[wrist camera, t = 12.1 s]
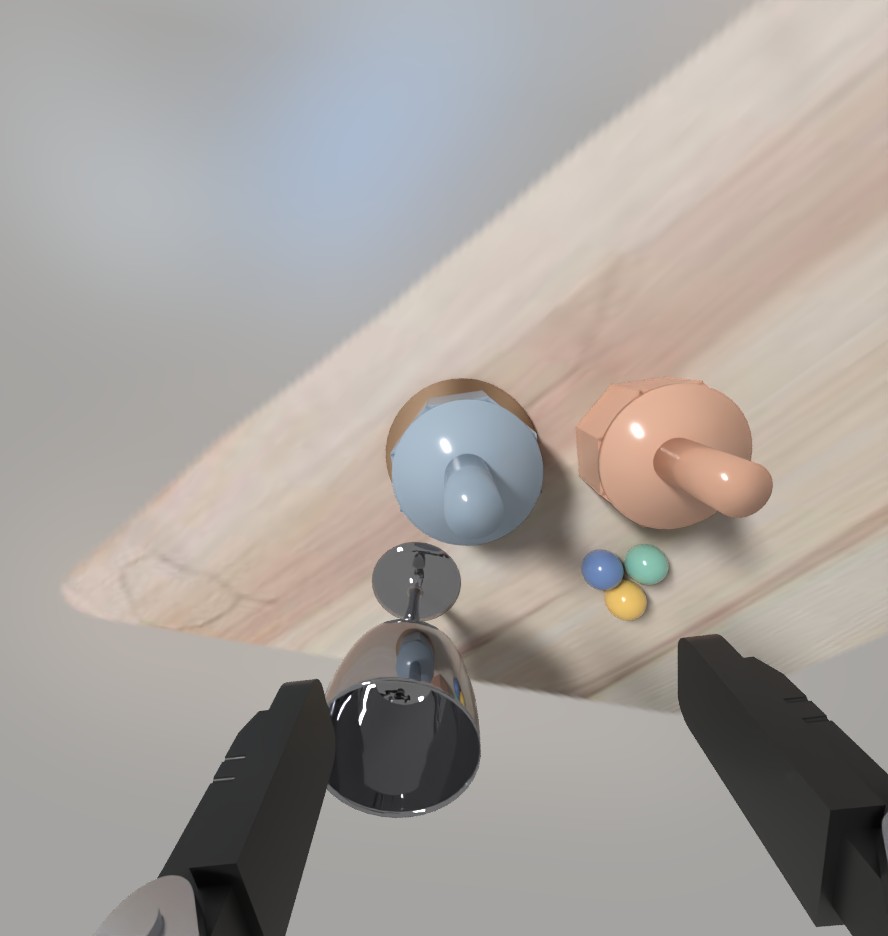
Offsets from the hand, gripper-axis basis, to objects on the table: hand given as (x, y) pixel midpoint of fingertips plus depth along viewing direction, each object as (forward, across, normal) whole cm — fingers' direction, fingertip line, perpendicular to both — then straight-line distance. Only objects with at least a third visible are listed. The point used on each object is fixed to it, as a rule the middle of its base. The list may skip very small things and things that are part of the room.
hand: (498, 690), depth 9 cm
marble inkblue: (+23, -9, +10) cm, 26 cm away
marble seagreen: (+23, -12, +10) cm, 28 cm away
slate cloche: (+22, 0, 0) cm, 22 cm away
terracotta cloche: (+23, -13, +1) cm, 26 cm away
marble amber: (+23, -11, +13) cm, 28 cm away
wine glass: (+23, +5, +10) cm, 25 cm away
